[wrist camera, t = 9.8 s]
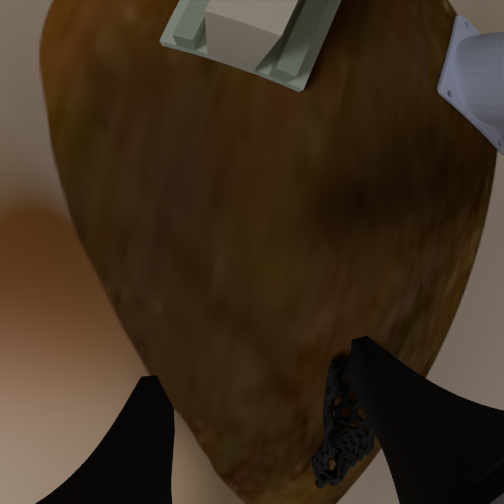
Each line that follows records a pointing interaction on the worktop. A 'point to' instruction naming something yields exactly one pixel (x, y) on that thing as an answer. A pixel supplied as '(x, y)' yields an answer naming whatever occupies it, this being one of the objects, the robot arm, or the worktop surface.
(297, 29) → the rack
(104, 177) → the worktop surface
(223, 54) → the beige rectangular block
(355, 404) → the decorative element
